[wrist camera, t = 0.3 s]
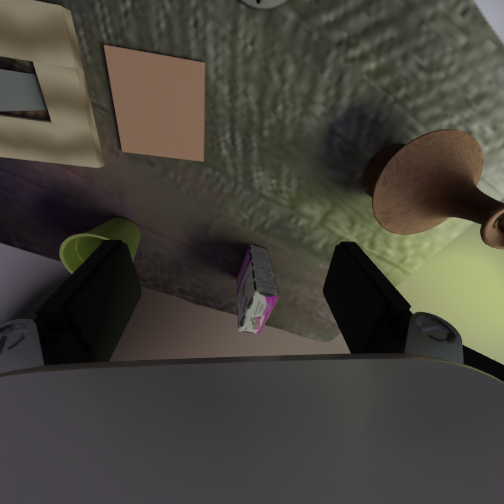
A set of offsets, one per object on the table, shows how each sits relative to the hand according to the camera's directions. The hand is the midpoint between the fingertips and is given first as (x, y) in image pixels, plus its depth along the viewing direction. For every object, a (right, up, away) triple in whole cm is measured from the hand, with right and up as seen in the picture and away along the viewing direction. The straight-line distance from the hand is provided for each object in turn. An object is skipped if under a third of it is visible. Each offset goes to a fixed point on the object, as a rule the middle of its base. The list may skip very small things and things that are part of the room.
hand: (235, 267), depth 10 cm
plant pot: (-27, +5, +38) cm, 47 cm away
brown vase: (+29, +17, +35) cm, 48 cm away
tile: (-14, +24, +26) cm, 39 cm away
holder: (-35, +26, +24) cm, 50 cm away
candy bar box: (+1, -2, +45) cm, 45 cm away
